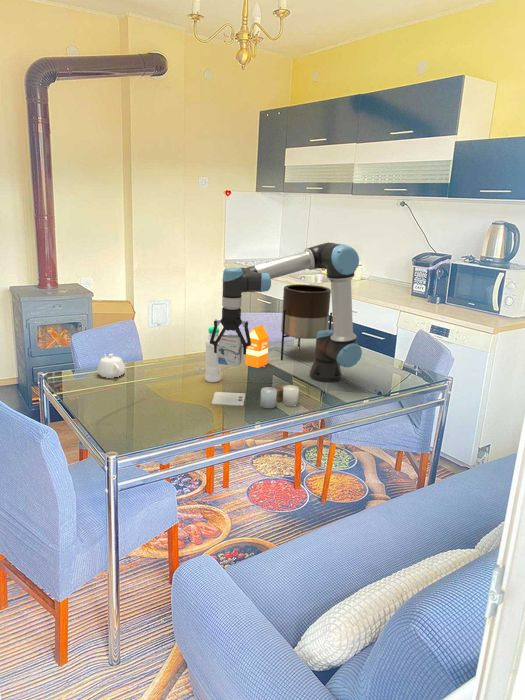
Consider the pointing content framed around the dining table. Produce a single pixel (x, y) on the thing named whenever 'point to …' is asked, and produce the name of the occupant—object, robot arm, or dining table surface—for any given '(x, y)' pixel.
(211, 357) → the water bottle
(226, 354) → the ink box
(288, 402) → the cream rounded-top cylinder
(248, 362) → the orange juice
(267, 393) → the domed pale cylinder
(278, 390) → the walnut block
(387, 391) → the dining table surface
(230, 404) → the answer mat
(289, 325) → the planter
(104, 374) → the teapot
